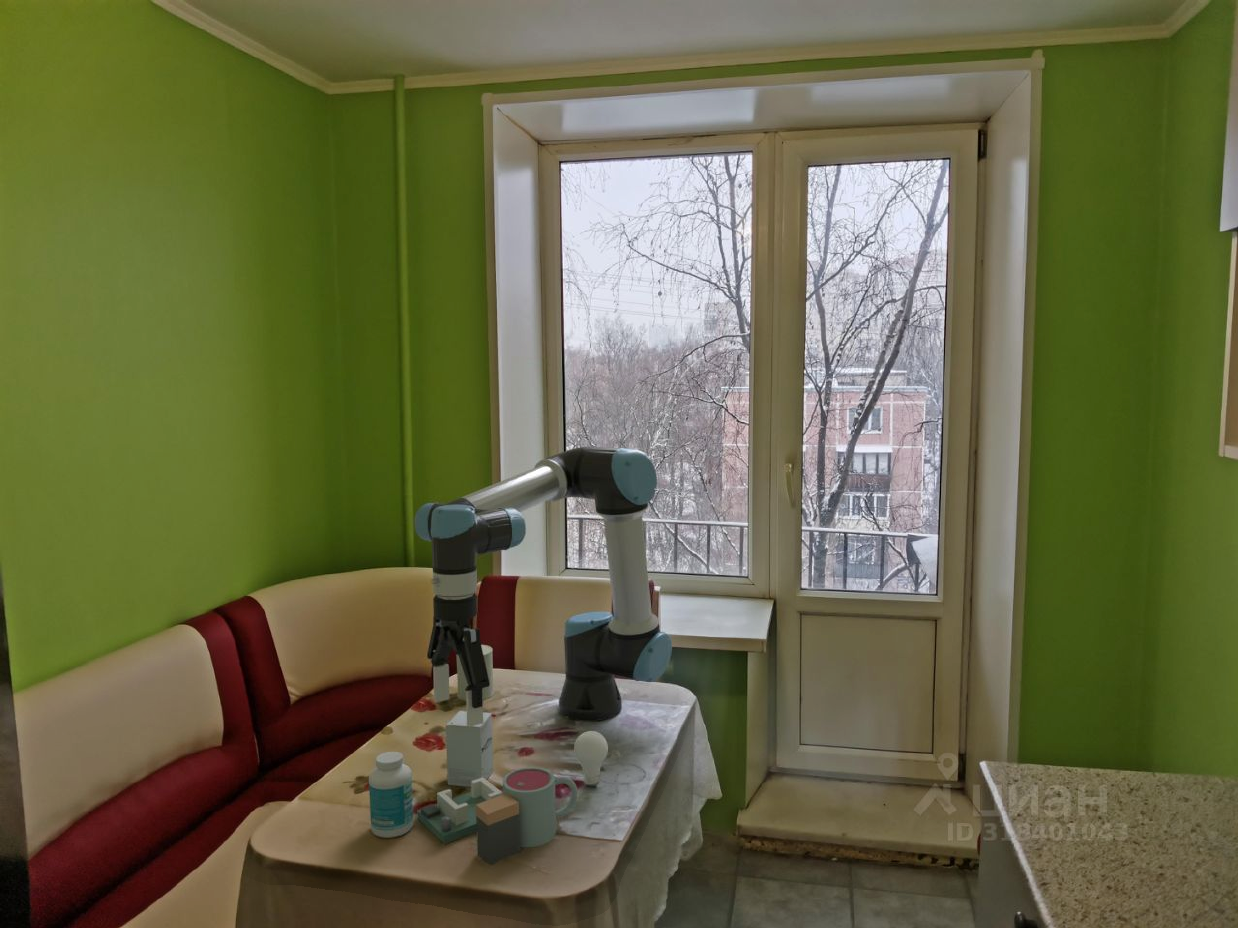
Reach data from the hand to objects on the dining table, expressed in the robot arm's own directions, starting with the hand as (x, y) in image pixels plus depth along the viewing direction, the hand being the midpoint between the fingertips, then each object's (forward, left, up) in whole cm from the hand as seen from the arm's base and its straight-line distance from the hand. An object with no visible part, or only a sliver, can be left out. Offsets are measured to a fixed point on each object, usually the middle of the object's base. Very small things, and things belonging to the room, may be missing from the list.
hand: (457, 711), depth 151 cm
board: (-2, -3, -22) cm, 22 cm away
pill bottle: (+10, -8, -22) cm, 25 cm away
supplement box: (-10, -16, -22) cm, 29 cm away
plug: (-1, +11, -22) cm, 25 cm away
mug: (-11, +9, -22) cm, 26 cm away
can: (-32, -55, -22) cm, 67 cm away
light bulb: (-27, +2, -22) cm, 35 cm away
